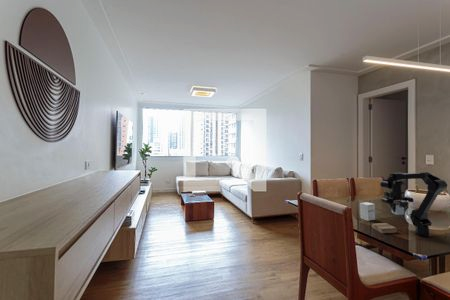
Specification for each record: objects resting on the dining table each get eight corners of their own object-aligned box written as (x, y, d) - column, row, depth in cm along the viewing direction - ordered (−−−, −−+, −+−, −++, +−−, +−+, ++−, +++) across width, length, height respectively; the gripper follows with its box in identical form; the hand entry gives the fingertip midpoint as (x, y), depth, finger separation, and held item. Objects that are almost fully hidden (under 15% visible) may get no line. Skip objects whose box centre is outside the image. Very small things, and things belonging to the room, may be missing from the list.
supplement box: (368, 221, 174) (367, 205, 174) (360, 218, 181) (359, 202, 181) (375, 219, 176) (374, 203, 176) (367, 217, 183) (366, 201, 183)
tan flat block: (396, 232, 151) (396, 228, 151) (381, 233, 151) (381, 228, 151) (386, 227, 161) (386, 222, 161) (372, 227, 161) (372, 223, 161)
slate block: (404, 214, 157) (403, 207, 157) (397, 214, 157) (396, 207, 157) (398, 212, 162) (398, 205, 162) (391, 212, 162) (391, 205, 162)
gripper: (401, 187, 167) (402, 207, 167) (376, 188, 167) (377, 209, 168) (413, 190, 156) (414, 212, 156) (386, 191, 156) (387, 213, 156)
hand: (397, 211), depth 159 cm, fingers closed on slate block, 5 cm apart
